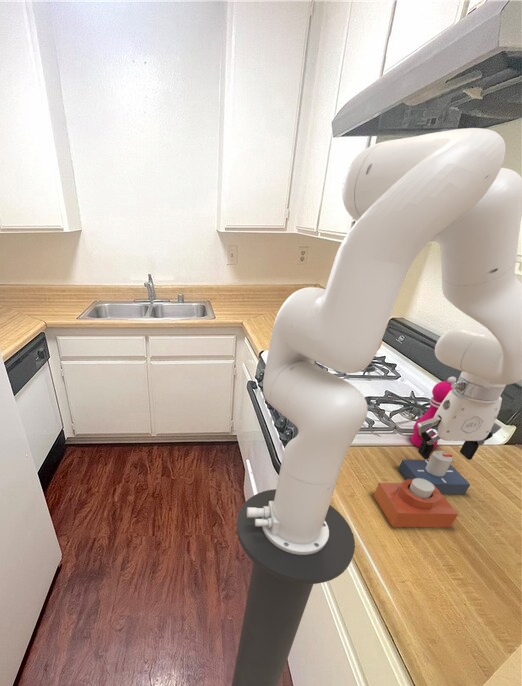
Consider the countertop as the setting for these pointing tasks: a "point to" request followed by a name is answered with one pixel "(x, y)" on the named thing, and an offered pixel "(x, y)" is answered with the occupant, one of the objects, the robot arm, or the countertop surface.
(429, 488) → the push button
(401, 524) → the orange button housing
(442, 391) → the pepper mill
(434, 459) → the grey dial knob
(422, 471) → the tap panel
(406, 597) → the countertop surface
